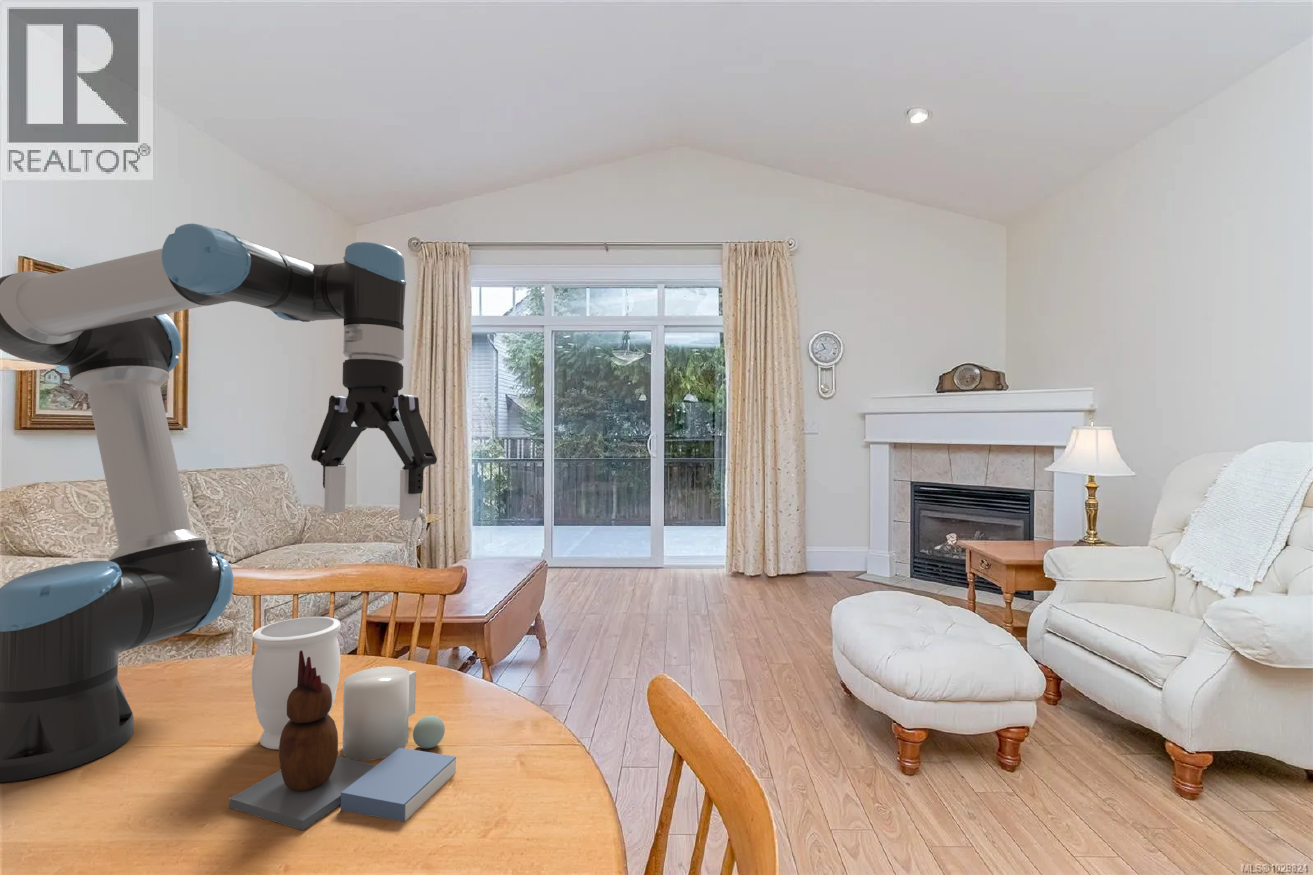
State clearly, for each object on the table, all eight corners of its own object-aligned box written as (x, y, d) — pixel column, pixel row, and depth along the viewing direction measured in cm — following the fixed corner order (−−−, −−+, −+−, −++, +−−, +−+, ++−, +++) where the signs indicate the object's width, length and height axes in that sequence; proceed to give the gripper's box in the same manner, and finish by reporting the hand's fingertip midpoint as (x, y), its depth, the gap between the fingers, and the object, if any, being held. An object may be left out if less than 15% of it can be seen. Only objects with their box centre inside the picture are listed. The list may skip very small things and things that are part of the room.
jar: (298, 760, 76) (300, 642, 76) (230, 750, 78) (232, 635, 78) (355, 721, 86) (357, 618, 87) (294, 714, 89) (296, 613, 89)
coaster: (228, 807, 66) (229, 798, 66) (315, 758, 77) (315, 750, 77) (302, 830, 62) (303, 820, 63) (383, 775, 73) (383, 767, 73)
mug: (328, 753, 78) (329, 684, 78) (389, 718, 88) (390, 656, 88) (376, 765, 75) (377, 694, 75) (434, 727, 85) (435, 664, 85)
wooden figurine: (274, 778, 70) (276, 651, 70) (329, 761, 74) (331, 640, 74) (284, 806, 65) (286, 668, 65) (342, 786, 69) (345, 656, 69)
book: (340, 814, 66) (340, 792, 66) (399, 766, 76) (399, 747, 76) (404, 826, 64) (404, 804, 64) (456, 776, 74) (456, 756, 74)
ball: (405, 751, 79) (406, 720, 79) (426, 737, 82) (427, 708, 82) (430, 757, 77) (431, 726, 77) (450, 742, 81) (451, 712, 81)
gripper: (284, 360, 83) (281, 512, 83) (425, 353, 73) (422, 525, 73) (331, 366, 90) (329, 507, 90) (465, 360, 80) (463, 518, 80)
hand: (370, 515), depth 81 cm, fingers open, 13 cm apart
